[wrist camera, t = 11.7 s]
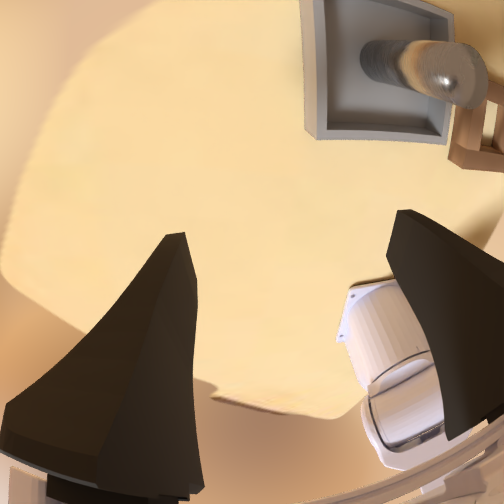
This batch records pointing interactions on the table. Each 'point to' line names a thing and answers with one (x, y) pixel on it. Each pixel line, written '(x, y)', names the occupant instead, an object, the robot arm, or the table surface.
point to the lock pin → (428, 69)
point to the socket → (479, 135)
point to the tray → (357, 82)
